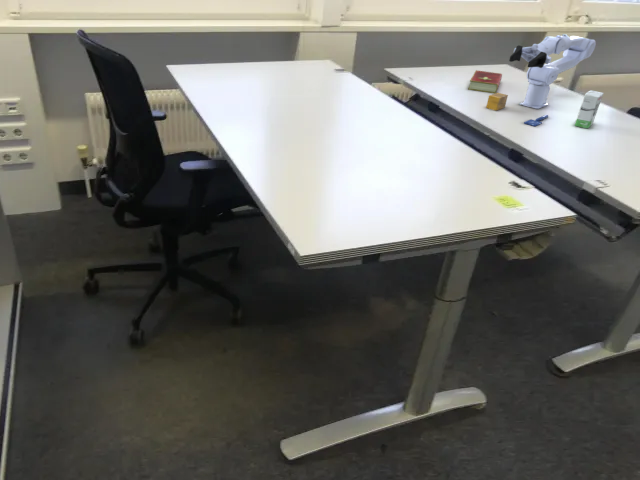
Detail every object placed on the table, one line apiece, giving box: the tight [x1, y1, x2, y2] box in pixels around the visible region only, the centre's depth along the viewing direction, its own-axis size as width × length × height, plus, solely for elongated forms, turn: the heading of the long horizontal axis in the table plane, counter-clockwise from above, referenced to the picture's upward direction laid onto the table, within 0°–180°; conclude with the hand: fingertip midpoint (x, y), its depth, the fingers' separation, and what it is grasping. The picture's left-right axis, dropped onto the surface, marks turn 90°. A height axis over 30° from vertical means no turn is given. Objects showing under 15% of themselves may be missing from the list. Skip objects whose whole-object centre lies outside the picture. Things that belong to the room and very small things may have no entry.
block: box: [485, 92, 509, 112], centre depth 221 cm, size 7×4×5 cm, turn 133°
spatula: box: [523, 114, 549, 127], centre depth 209 cm, size 15×4×1 cm, turn 133°
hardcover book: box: [467, 69, 503, 94], centre depth 249 cm, size 12×21×4 cm, turn 156°
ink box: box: [574, 90, 604, 129], centre depth 205 cm, size 9×5×12 cm, turn 142°
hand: (519, 61), depth 205 cm, fingers open, 7 cm apart
